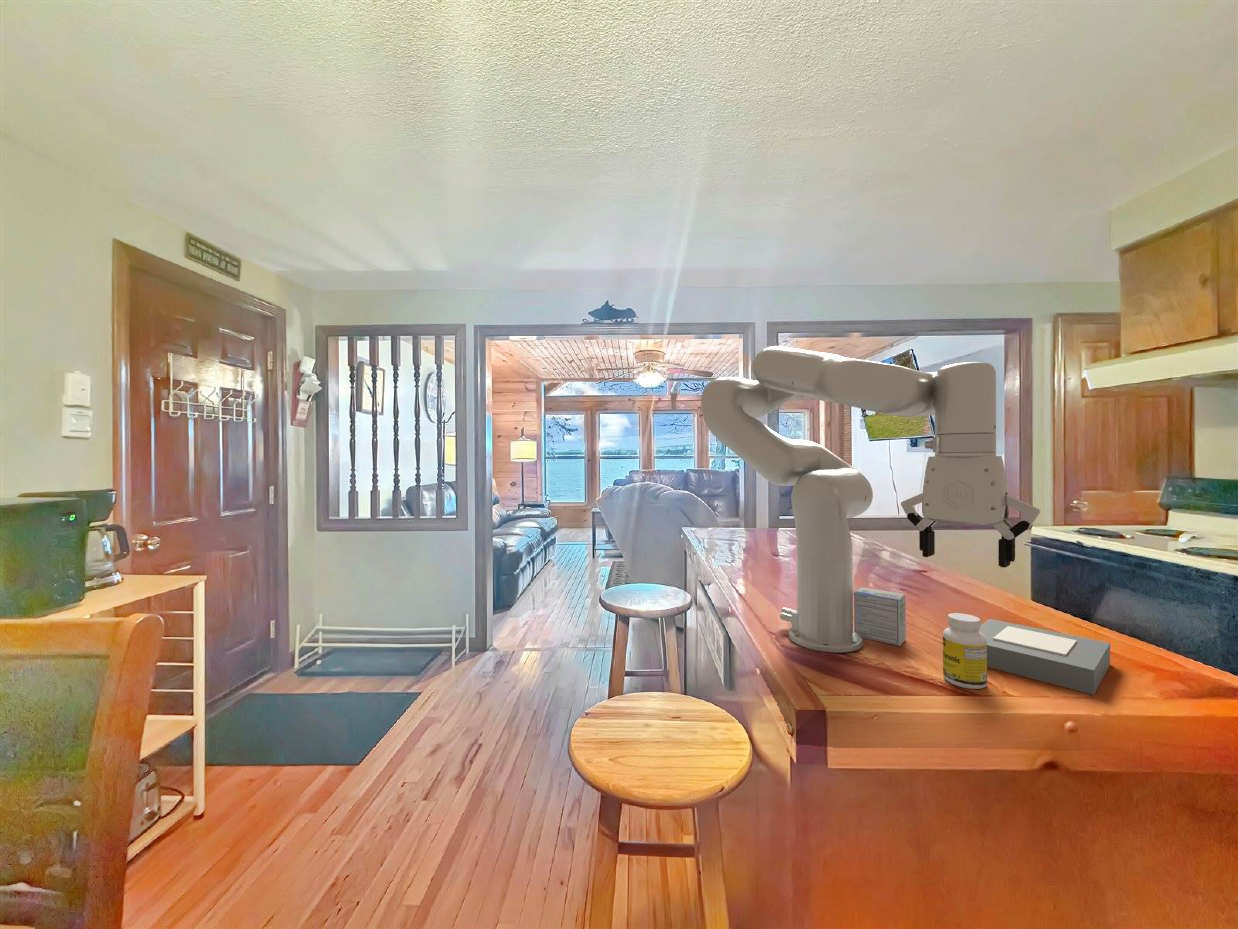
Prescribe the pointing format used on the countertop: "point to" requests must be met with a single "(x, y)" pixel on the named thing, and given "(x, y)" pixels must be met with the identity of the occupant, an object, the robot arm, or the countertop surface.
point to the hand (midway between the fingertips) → (964, 560)
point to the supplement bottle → (964, 652)
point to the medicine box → (880, 615)
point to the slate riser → (1046, 655)
